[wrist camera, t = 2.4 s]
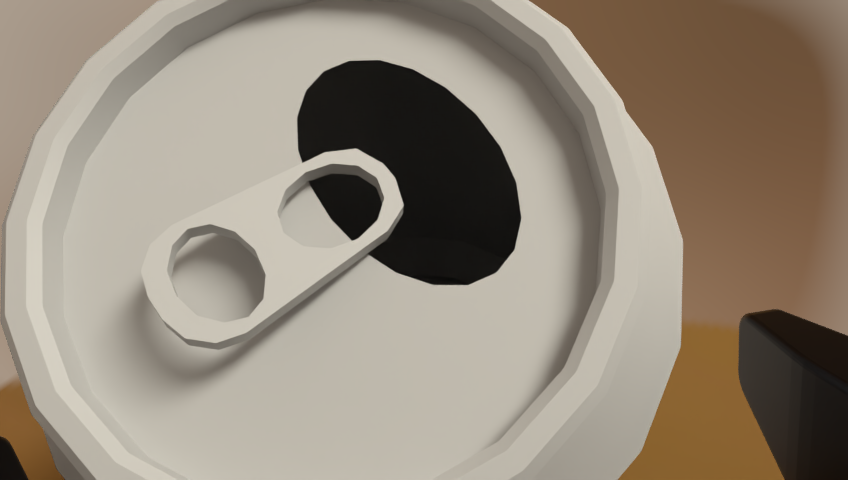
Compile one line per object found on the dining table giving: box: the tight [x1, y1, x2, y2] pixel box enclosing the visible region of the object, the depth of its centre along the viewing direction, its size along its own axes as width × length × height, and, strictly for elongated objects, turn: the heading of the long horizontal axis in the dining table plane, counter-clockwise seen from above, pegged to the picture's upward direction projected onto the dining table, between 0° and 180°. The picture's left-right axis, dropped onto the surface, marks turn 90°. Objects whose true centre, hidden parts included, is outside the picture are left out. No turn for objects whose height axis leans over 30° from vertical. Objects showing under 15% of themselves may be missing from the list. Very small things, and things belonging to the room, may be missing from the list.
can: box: [0, 0, 683, 480], centre depth 13 cm, size 8×8×12 cm
